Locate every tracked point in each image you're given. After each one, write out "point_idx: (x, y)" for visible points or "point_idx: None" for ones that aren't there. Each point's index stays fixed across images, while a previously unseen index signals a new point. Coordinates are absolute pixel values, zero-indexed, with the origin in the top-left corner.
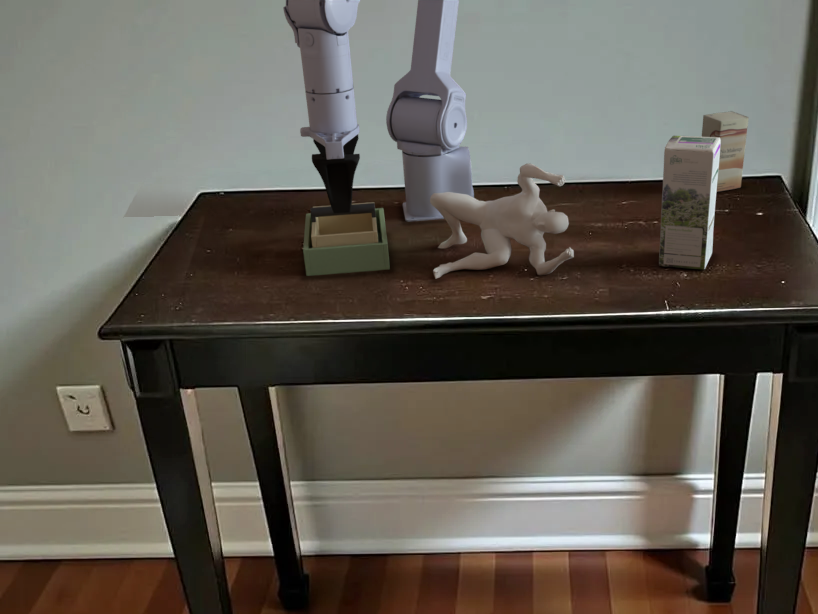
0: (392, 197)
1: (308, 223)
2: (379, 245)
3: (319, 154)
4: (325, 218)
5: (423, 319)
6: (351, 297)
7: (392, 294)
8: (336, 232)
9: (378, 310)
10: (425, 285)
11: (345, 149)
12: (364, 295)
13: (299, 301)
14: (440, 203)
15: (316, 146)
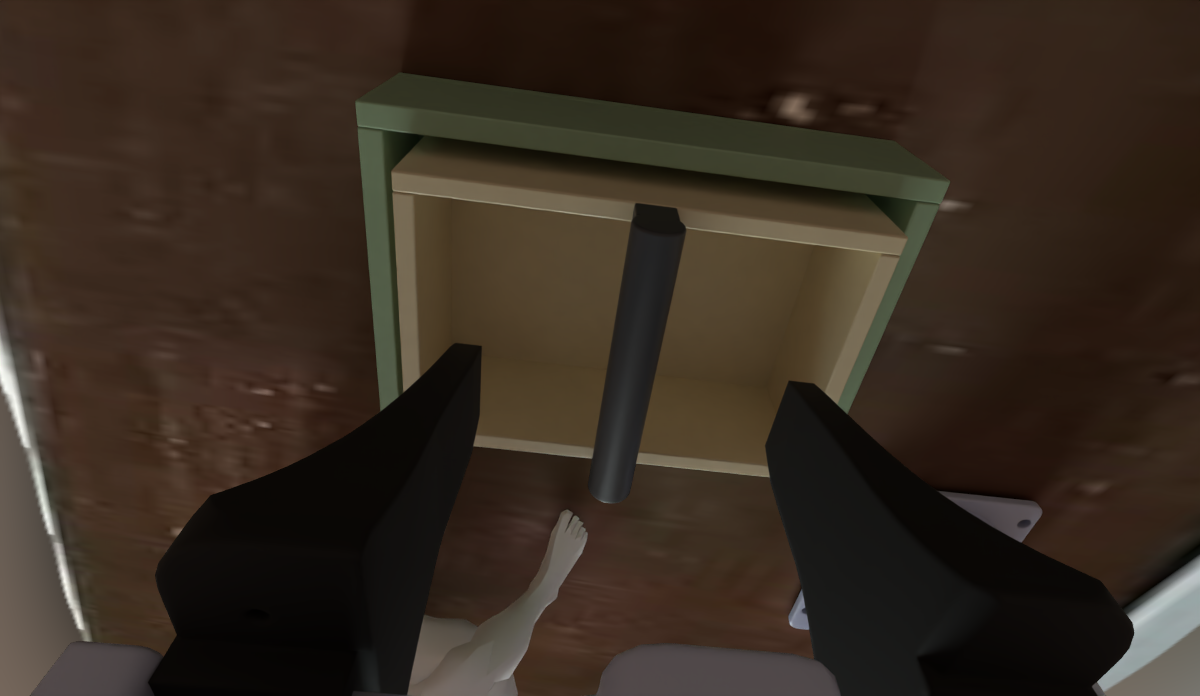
0: (1166, 486)
1: (778, 176)
2: (380, 409)
3: (339, 603)
4: (847, 262)
5: (6, 390)
6: (180, 221)
7: (208, 346)
8: (811, 270)
9: (62, 288)
10: (281, 437)
11: (842, 664)
12: (200, 266)
13: (128, 6)
14: (430, 676)
15: (945, 562)
